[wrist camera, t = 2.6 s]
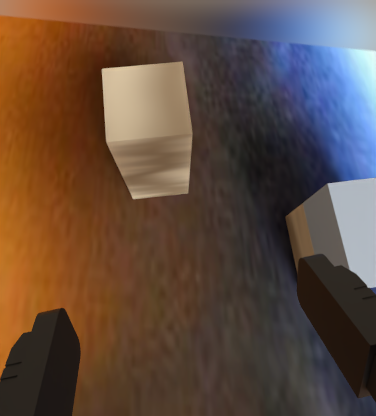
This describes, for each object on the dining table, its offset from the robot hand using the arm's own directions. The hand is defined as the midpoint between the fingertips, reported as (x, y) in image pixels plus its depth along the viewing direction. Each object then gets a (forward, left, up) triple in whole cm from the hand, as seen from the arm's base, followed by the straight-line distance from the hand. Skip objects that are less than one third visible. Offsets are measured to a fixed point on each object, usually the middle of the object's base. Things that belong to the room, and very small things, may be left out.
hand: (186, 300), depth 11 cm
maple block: (-1, +11, -14) cm, 17 cm away
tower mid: (+12, +2, -10) cm, 16 cm away
